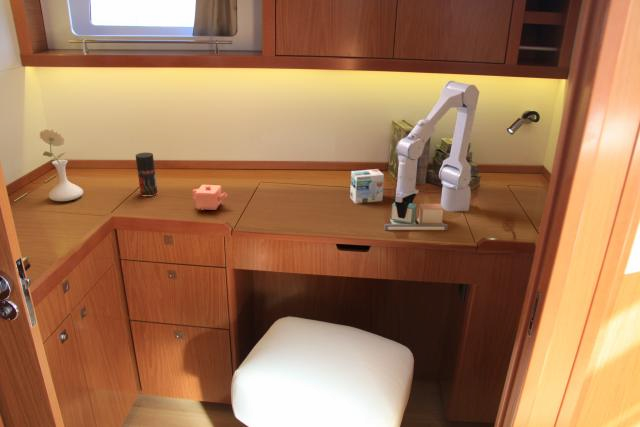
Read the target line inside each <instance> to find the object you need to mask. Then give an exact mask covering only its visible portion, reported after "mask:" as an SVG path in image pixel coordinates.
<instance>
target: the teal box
mask: <svg viewBox="0 0 640 427" xmlns="http://www.w3.org/2000/svg"><path fill="white" fill-rule="evenodd" d="M417 207H418V206H417V203H414V202H413V203H409V206H408V208H407V212H406V216H405V218H404V219H403V218H398V214H397V208H396V205H395V203H394V202H393V203H392V204H391V215H390V219H391V220H394V221H399V222H404V223H409V224H412V223H413V222H414V220H416V216H417V214H416V213H417ZM391 220H390V221H391Z"/></svg>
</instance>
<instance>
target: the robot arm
mask: <svg viewBox="0 0 640 427" xmlns="http://www.w3.org/2000/svg"><path fill="white" fill-rule="evenodd" d="M479 96H480V91H479V89H478V87H477V86H476V85H475V84H468V83H463V82H457V81H454V80H449V81H447V82H446V83H445V85H444V86H443V88H442V89H441V90H440V97H439V99H438V100H437V102H436V103H435V105H433V108H432V109H431V111H430V112H429V113H428V115H427V116H426V117H425V118H424V119H423V118H422V119H420V120H418V122H417V123H416V125H415V126H414V127H413V129H411V131H410V132H409V134H408V135H406V137H404V138H401V139H399V140H398V143H397V145H396V146H395V152H396V153H397V160H398V168H397V169H398V170H397V184H396V190H395V194H396V195H394V196H393V198H392V199H393V200H392V202H393V203H395V205H396V208H397V214H398V218H403V219H404V218H405V216H406V212H407V208H408V206H409V203H413V204H414V200H415V198H416V196H417V195H418V194H419V190H418V189H416V182H417V173H418V172H417V171H418V170H417V169H418V160H419V158H420V157H421V156H422V154H423V153H424V148H425V147H426V145H425V144H426V143H427V142H428V140H429V139H430V138H431V136H432V135H433V134H434V133H435V131H436V125H437V124H438V122H440V120H441V119H443V117H444V116H445V115H446V114H447V113H448V112H449V111H450V110H451V109H452V108H455V109H456V110H457V117H456V121H455V127H454V130H453V137H452V141H451V142H452V143H451V147H450V153H449V156H448V157H446V159H444V160H443V161H442V165H441V167H440V169H439V171H438V172H439V173H438V178H439V180H441V183H440V184H442V190H441V198H440V204H441V205H442V206H443V208H444V211H447V212H453V213H454V212H468V211H469V209H470V203H471V197H472V194H471V193H472V191H471V186H470V185H469V184H470V182H471V181H472V179H471V178H472V174H471V173H472V172H471V170H472V166H471V164H470V163H469V162H468V161H467V155H468V151H469V146H470V145H469V144H470V142H471V137H472V136H471V134H472V130H473V125H474V121H475V120H474V119H475V116H476V111H477V106H478V100H479Z"/></svg>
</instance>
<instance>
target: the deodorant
mask: <svg viewBox="0 0 640 427" xmlns="http://www.w3.org/2000/svg"><path fill="white" fill-rule="evenodd" d="M135 162H136V167H137V168H136V170H137V176H138V184H139V190H140V196H141V195H154V194H156V193H157V192H158V185H157V177H156V169H155V160H154V154H153V153H152V152H140V153H136V154H135Z"/></svg>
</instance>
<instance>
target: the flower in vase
mask: <svg viewBox="0 0 640 427" xmlns="http://www.w3.org/2000/svg"><path fill="white" fill-rule="evenodd" d="M39 138H40V139H41V140H42V141H43V142H44V143H46V144H48V145H49V146H50V147H49V151H44V152H43V154H42V156H46V157H49V158H54V159H55V160H53V161H51V164H52V165H53V166H54V167H55V168H56V171H57V174H58V177H59V180H58V181H59V182H58V184H56V185H55V186H54V187H53V188H52V189H51V190H50V192H49V193H48V198H49V199H50V200H51V201H55V202H68V201H69V202H70V201H72V200H73V201H74V200H77V199H78V198H80V197H81V196H82V195H83V194H84V190H83V188H81V187H80V186H79V185H77V184H74V183H73V182H70V181H69V180H68V178H67V173H66V166H67V163H68V162H69V160H67V159H59V158H61V157H62V156H63V155H64V154H65V152H62V153H59V155H57V157H56V156H55V155H54V153H53V151H52V146H53V147H59V146H63V145H65V139H64V137H63V136H62V134H61V133H59V132H58V131H54V130H53V129H50V130H49V129H43V130H42V131H39Z"/></svg>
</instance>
